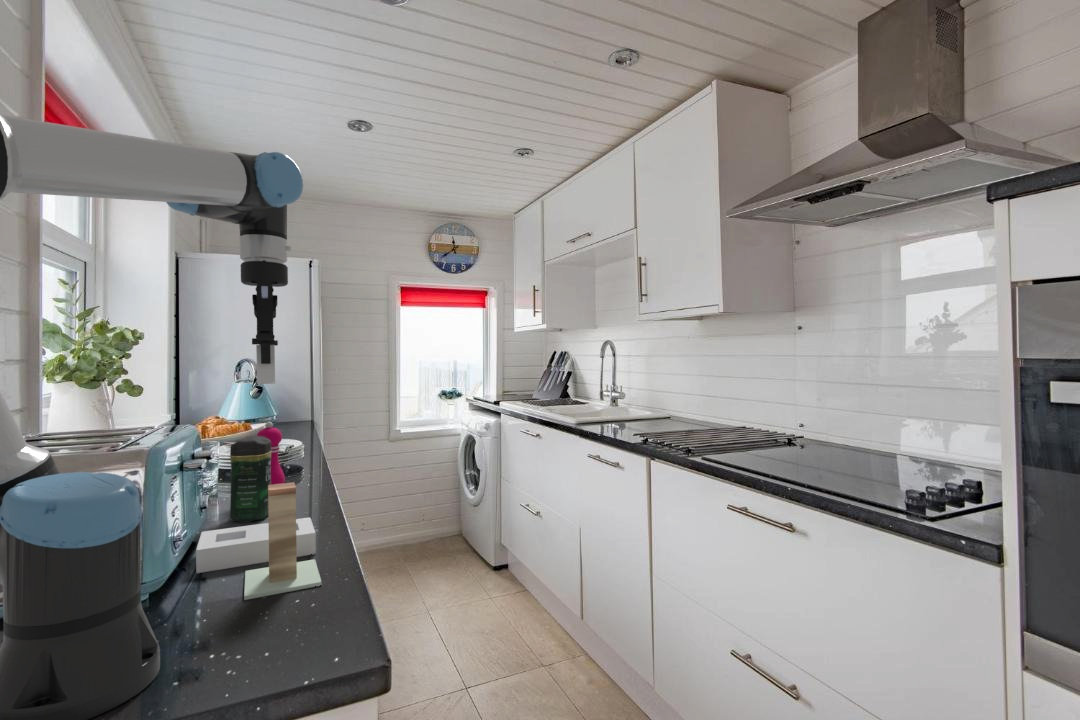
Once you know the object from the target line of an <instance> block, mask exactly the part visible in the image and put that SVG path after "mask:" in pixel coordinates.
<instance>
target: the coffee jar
mask: <svg viewBox="0 0 1080 720" xmlns="http://www.w3.org/2000/svg"><path fill="white" fill-rule="evenodd" d="M229 455H230V456H229V458H230V504H229V505H230V507H229V513H230V514H229V517H230V520H231V521H233V522H240V523H250V522H252V521H256V520H263V519H264V518H266V517H267V516H268V485H271V441H270V440H269V439H268V438H266V437H265V436H257V435H252V436H251V435H250V436H247V437H246V438H242V439H239V440H238V441H235V442H234V443H232V444H231V445H230V453H229Z"/></svg>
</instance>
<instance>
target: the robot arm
mask: <svg viewBox="0 0 1080 720" xmlns="http://www.w3.org/2000/svg"><path fill="white" fill-rule="evenodd" d="M303 190H304V181H303V175H302V172H301V170H300V168H299V166H298V164H297V163H295V161H294V159H292V158H291V157H289V156H288V155H287V154H285V153H282V152H278V151H273V152H272V151H271V152H266V151H265V152H261V153H258V154H247V153H241V152H231V151H225V150H220V149H215V148H214V149H213V148H208V147H202V146H195V145H189V144H185V143H184V144H183V143H178V142H177V143H176V142H171V141H165V140H157V139H152V138H147V137H146V138H145V137H141V136H139V137H138V136H133V135H128V134H121V133H115V132H109V131H104V130H98V129H92V128H84V127H79V126H72V125H66V124H60V123H53V122H48V121H41V120H37V119H31V118H30V119H29V118H26V117H25V118H23V117H18V116H12V115H6V114H0V201H2V200H3V199H5V198H6V197H7V196H8V195H9V194H11V193H12V194H13V193H14V194H15V193H16V194H30V195H31V194H33V195H34V194H35V195H47V196H48V195H49V196H62V197H63V196H65V197H80V198H83V197H84V198H94V199H95V198H96V199H97V198H98V199H99V198H100V199H112V200H113V199H114V200H115V199H117V200H128V201H129V200H130V201H143V202H144V201H146V202H159V203H160V202H161V203H162V202H163V203H166V204H167V205H168V207H170V208H171V209H173V210H175V211H178V212H181V213H185V214H188V215H190V216H197V217H201V218H206V219H211V220H217V221H220V222H221V221H222V222H227V223H231V224H235V225H239V259H240V260H242V261H243V262H241V264H240V282H241V283H242V284H243V285H245V286H251V287H255V292H256V294H252V298H251V299H252V305H253V315H254V317H255V318H256V334H255V337H253V338H251V345H256V349H255V350H256V384H257V385H269V384H276V368H275V367H276V357H275V356H276V354H275V352H276V351H275V350H276V349H275V346H278V344H279V341H278V340H277V339H276V340H275V337H276V336H275V334H274V319H276V317H277V307H278V295H277V294H274V290H275V289H274V287H275V288H276V287H277V288H278V287H279V288H280V287H285V286H287V285H289V268H288V267H289V266H287V264H285V263H287V262H288V253H287V252H290V251H292V247H291V245H287V244H288V242H287V240H288V205H290V204H294V203H295V202H296V201H298V200H299V199H300V197H301V196H302V194H303ZM140 501H141V499H140V493H139V488H138V487H137V484H136V483H135V482H133V480H131V479H130V478H128V477H126V476H123V475H119V474H116V473H112V472H111V473H109V472H95V473H92V472H90V471H77V472H75V471H74V472H66V473H65V472H64V473H60V470H59V468H58V467H57V465H56V463H55V460H54V459H53V457H52V455H51V453H50V450H48V449H45V448H42V447H39V446H35V445H31V444H28V443H27V441H26V439H25V437H24V435H23V434H22V431H21V429H20V428H19V425H18V424H17V422H16V420H15V417H14V416H13V414H12V412H11V410H10V408H9V406H8V404H7V402H6V400H5V397H4V396H3V394H2V391H0V585H1V586H2V618H3V634H2V635H3V636H2V637H3V639H2V643H1V645H0V720H89V719H92V718H95V717H96V716H99V715H102V714H104V713H106V712H108V711H111V710H112V709H115V708H117V707H118V706H121V705H122V704H124V703H125V702H128V701H129V700H131V699H132V698H135V696H137V695H138V694H140V693H141V692H142V691H143V690H145V689H146V688H147V687H148V686H149V685H151V684H152V682H153V681H154V680H155V678H156V677H157V676H158V674H159V672H160V668H161V650H160V649H161V648H160V645H159V642H158V639H157V638H156V635H155V633H154V631H153V629H152V627H151V624H150V623H149V620H148V618H147V615H146V614H145V611H144V609H143V606H142V564H141V563H142V562H141V561H142V559H141V558H142V556H141V555H142V553H141V551H142V550H141V549H142V547H141V545H142V544H141V543H142V542H141V538H142V537H141V536H142V535H141V529H142V528H141V523H142V522H141V520H142V517H143V509H142V505H141V502H140Z"/></svg>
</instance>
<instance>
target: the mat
mask: <svg viewBox="0 0 1080 720" xmlns="http://www.w3.org/2000/svg"><path fill="white" fill-rule="evenodd" d="M244 571H245V573H244V592H243V593H244V595H243V597H244V598H243V600H244V601H247V600H252V599H257V598H258V599H259V598H262V597H267V596H274V595H280V594H283V593H288V592H289V593H290V592H294V591H300V590H304V589H310V588H316V587H321V586H322V584H323V583H322V578H321V576H320V572H319V568H318V566H317V561H316V559H309V560H303V561H297V578H295V579H289V580H284V581H278V582H273V583H270V581H269V566H267V567H261V568H255V569H249V570H244ZM320 585H321V586H320ZM315 586H316V587H315Z"/></svg>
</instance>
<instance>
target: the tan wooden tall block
mask: <svg viewBox="0 0 1080 720" xmlns="http://www.w3.org/2000/svg"><path fill="white" fill-rule="evenodd" d="M267 516H268V518H267V519H268V523H269V562H268V567H269V581H270V583H273V582H278V581H284V580H289V579H295V578H297V562H298V561H297V559H298V557H297V556H296V519H297V487H296V484H295V482H286V483H285V482H284V483H283V484H274V485H268V515H267Z"/></svg>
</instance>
